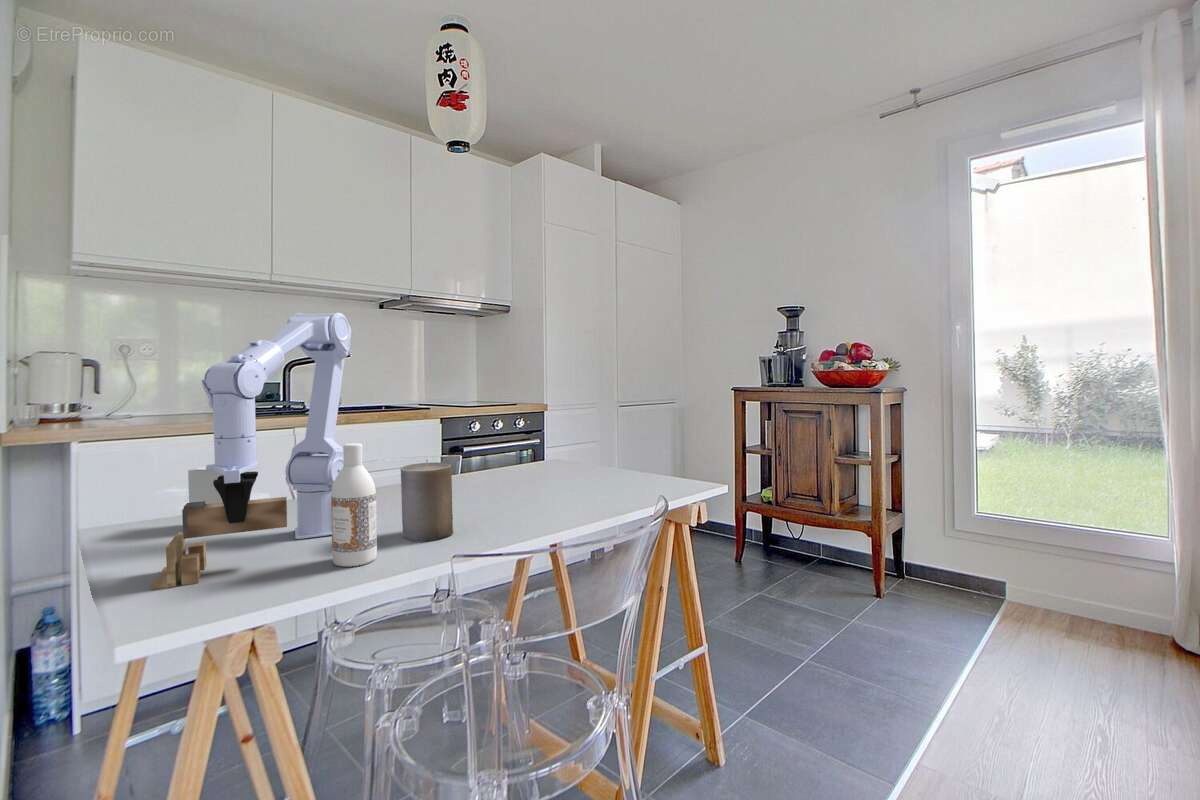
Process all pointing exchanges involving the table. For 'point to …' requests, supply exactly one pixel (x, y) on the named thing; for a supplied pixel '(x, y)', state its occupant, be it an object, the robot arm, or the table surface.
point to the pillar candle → (426, 501)
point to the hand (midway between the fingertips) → (237, 519)
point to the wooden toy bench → (181, 563)
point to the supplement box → (203, 486)
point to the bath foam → (353, 512)
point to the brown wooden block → (214, 522)
